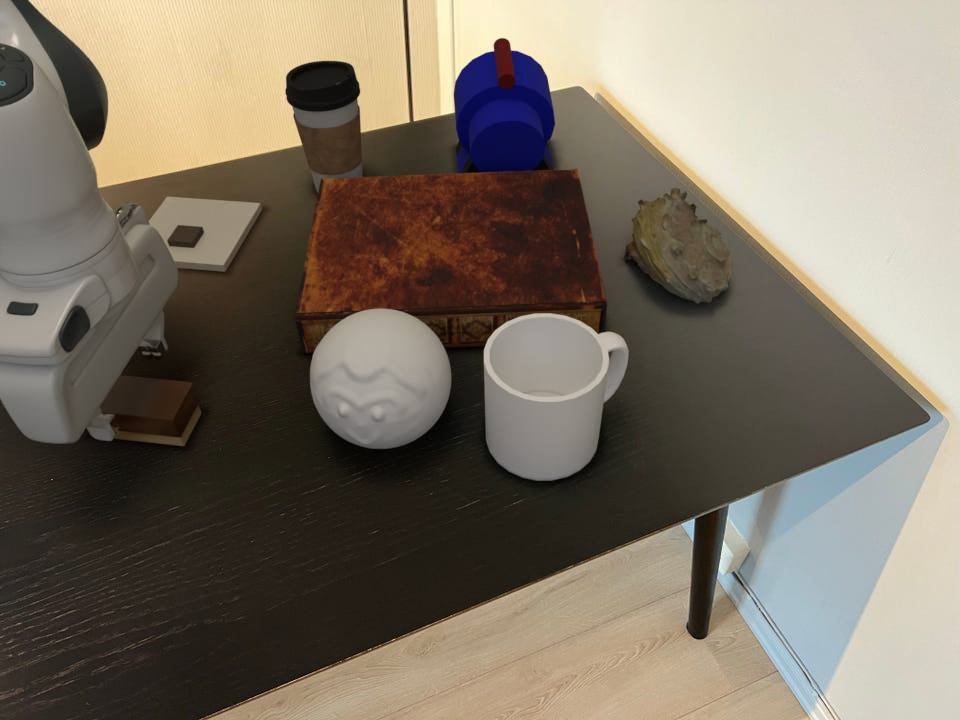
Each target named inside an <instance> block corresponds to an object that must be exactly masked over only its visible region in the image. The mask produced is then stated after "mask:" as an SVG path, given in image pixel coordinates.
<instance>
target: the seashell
mask: <svg viewBox="0 0 960 720" xmlns="http://www.w3.org/2000/svg"><path fill="white" fill-rule="evenodd" d="M687 196H688V192H687V190H684V192H681V188H676V187H673V188H671V189H670V194H669V193H667V192H666V193H664V194H663V195H662V198H661V197H660V196H659V197H657V198H656V199H654V200H651V201H649V200H644V199H639V200H638V201H637V203H638V206H639V208H640V209H638V211H637V212H636V214H635V216H634V217H632V218H631V222H632V234H631V237H632V241H631V242H630V243H628V244H627V245H626V246H625V253H624V256H623V258H624V260H625V261H634V262H635V263H637V266H638V267H639V268H640V270H641V271H642V272H644V274H647V275H648V276H649V278H650V279H652V280H653V281H654V282H656V283H658V284H659V285H661V286H662V287H663V288H664V289H665V290H667V291H668V292H670V293H671V294H672V295H675V296H677V297H679V298H680V299H685V300H688V301H693V302H694V303H695V304H697V305H699V304H700V303H703V302H704V303H707V304H708V303H712V300H713V298H714V297H718V296H719V295H720V294H721V293H722V292H723V291H726V289H728V288H729V282H731V280H732V277H733V260H732V259H731V256H730V255H731V252H730V250H729V247H728V245H727V244H726V243H725V242H724V240H723V238H722V237H721V235H722V231H721V230H719V229H718V228H716V227H714V226H713V225H712V224H710V223H708V219H707V218H704V219H699V218H698V216H697V215H696V211H697V210H696V209H697V208H698V207H697V205H696V204H695V203H691V204H690V203H689V202H688V201H686V199H687Z"/></svg>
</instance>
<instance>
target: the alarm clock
mask: <svg viewBox="0 0 960 720" xmlns="http://www.w3.org/2000/svg"><path fill="white" fill-rule="evenodd" d="M453 104H454V105H453V106H454V118H455V119H454V120H455V130H456V134H457V138H458V141H457V144H456V146H455V154H456V163H457V164H456V165H457V173H482V172H508V171H535V170H555V168H554V165H553V160H552V157H551V156H552V155H551V152H550V147H549V144H548V142H549V141H550V140H551V138H552V137H553V134H554V130H555V125H556V120H555V112H554V111H555V110H554V106H553V100H552V93H551V89H550V83H549V78H548V75H547V72H546V71H545V70H544V67H543V66H542V64H540V62H538V61H537V60H536V59H535V58H533V56H530V55H528V54H527V53H523V52H521V51H519V50H512V46H511V42H510V40H508V38H505V37H499V38H497V39H496V40H495V41H494V42H493V51H486V52H484V53H483V54H480V55H479V56H476V57H474V58H473V59H471V60H470V61H469V62H468V63H467V64H466V65H465V66H464V67H463V68H462V69H461V71H460V72H459V73H458V76H457V78H456V80H455V82H454V89H453Z"/></svg>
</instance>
